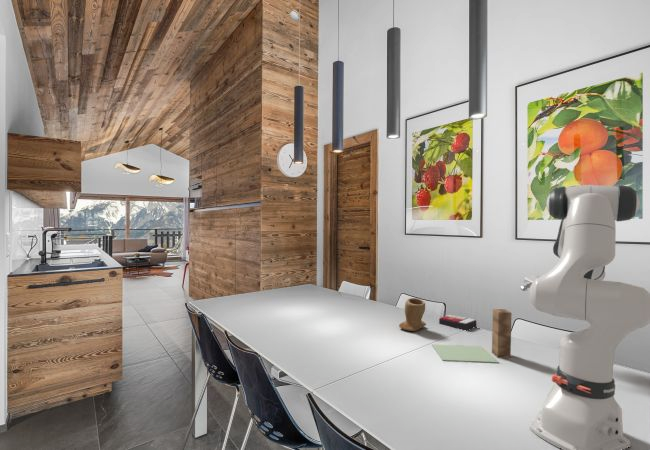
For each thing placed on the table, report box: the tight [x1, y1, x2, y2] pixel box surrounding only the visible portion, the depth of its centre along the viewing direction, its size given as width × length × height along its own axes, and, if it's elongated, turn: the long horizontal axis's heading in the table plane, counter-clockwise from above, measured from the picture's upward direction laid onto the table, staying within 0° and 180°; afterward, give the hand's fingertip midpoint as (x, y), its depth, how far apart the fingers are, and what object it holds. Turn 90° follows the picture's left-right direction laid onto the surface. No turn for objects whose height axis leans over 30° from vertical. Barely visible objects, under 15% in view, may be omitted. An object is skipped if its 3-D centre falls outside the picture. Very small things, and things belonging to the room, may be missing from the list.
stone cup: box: [398, 297, 427, 332], centre depth 165 cm, size 15×12×15 cm
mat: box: [431, 343, 500, 364], centre depth 134 cm, size 21×16×1 cm
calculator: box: [438, 314, 477, 332], centre depth 172 cm, size 11×4×15 cm
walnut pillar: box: [491, 308, 512, 359], centre depth 133 cm, size 5×5×18 cm
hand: (530, 292), depth 132 cm, fingers open, 8 cm apart
